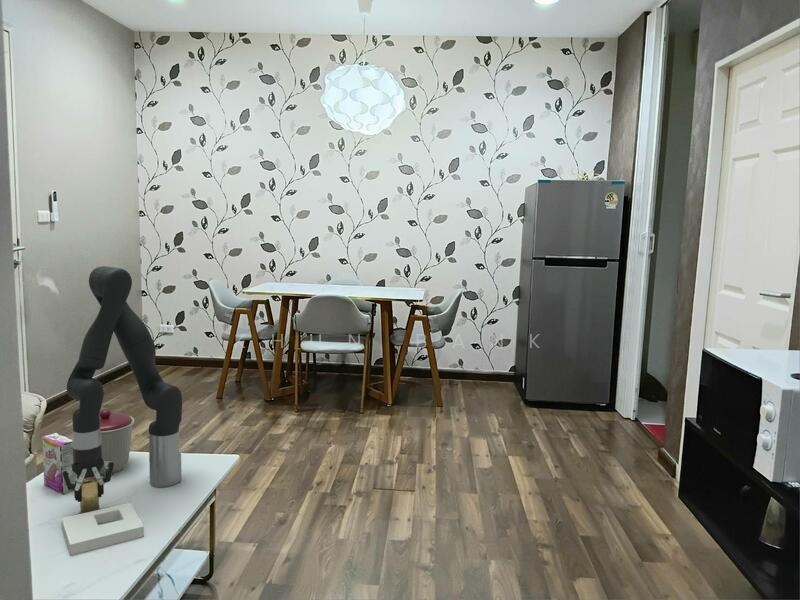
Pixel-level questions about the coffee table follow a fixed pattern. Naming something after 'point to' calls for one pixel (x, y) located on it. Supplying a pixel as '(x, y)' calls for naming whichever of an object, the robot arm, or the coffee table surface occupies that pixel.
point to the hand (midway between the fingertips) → (89, 498)
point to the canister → (115, 438)
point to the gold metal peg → (89, 495)
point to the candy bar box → (57, 461)
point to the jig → (101, 528)
